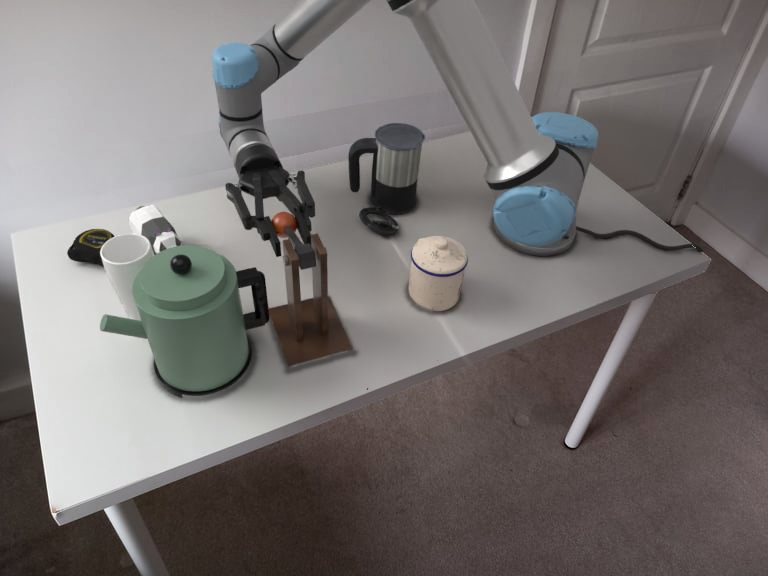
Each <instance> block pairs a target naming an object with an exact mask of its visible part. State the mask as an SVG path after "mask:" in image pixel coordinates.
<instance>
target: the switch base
mask: <svg viewBox="0 0 768 576" xmlns="http://www.w3.org/2000/svg"><path fill="white" fill-rule="evenodd" d="M320 237H321V236H320V235H319V233H318V232H316V233H311V247H312V248H313V249H314V251H315V257H316V267H312V268H311V273H312V274H311V275H312V277H311V278H312V295H313V296H312V297H311V298H306V299H303V300H302V294H301V280H300V279H301V278H300V267H299V260H298V257H297V255H296V253H295V250H294V247H293V246H292V244H291V241H290V239H288V238H286V239H282V251H283V256H282V262H283V265H284V275H285V276H284V277H285V286H286V288H285V289H286V300H287V303H286V304H282V305H278V306H273V307H270V308H269V316H270V321H271V323H272V327H273V329H274V332H275V335H276V338H277V341H278V343H279V346H280V349H281V352H282V355H283V357H284V359H285V363H286V365H287V367H292V366H296V365H299V364H303V363H307V362H311V361H314V360H318V359H321V358H325V357H328V356H329V357H330V356H333V355H336V354H339V353H343V352H346V351H347V352H348V351H351V350H353V346H352V344H351V342H350V340H349V337H348V336H347V333H346V331H345V329H344V327H343V325H342V323H341V320H340V318H339V316H338V314H337V312H336V309H335V307H334V305H333V303H332V302H331V300H330V297H329V280H328V277H329V276H328V271H329V270H328V254H329V253H328V250H327V247H325V245H324V243H323V242H322V240H321V238H320Z"/></svg>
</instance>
